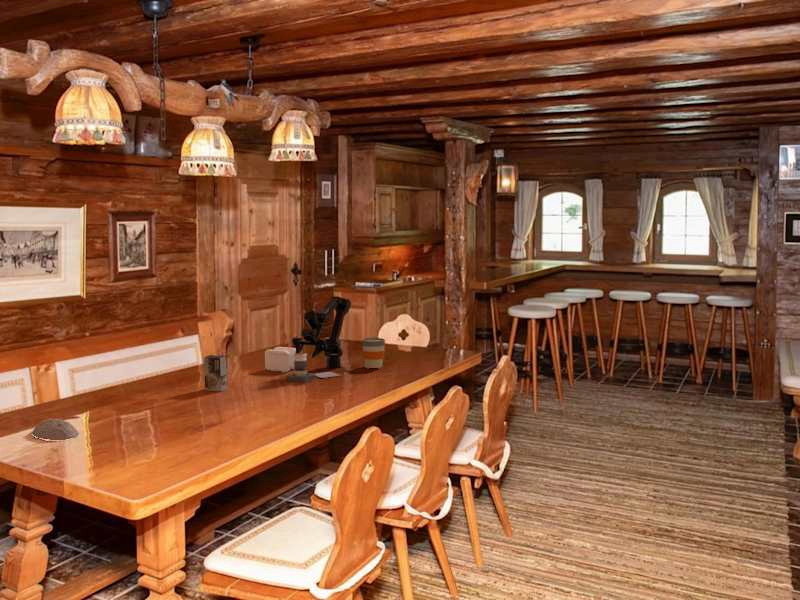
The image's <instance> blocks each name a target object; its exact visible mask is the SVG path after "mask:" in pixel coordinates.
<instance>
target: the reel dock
mask: <svg viewBox="0 0 800 600" xmlns="http://www.w3.org/2000/svg"><path fill="white" fill-rule="evenodd" d="M315 374H316V373H312V372H311V373H310V372H307V376H305V377H299V376H295V372H293V373H292V374H287V375H286V378H285V379H286V380H289V381H288V382H293V381H298V382H297V383H304V382H305V383H307V382H309V380H310V381H312V380H311V379H313V380H315V379H316V377H315ZM314 378H315V379H314ZM306 381H307V382H306Z"/></svg>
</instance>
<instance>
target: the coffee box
mask: <svg viewBox="0 0 800 600" xmlns="http://www.w3.org/2000/svg"><path fill="white" fill-rule="evenodd" d="M203 369H204V373H203V374H204V391H205V390H207V392H210V391H211V392H224V391H226V390H228V389H229V383H228V381H229V380H228V378H229V376H228V356H227V355H220V354H209V355H207V356H204V357H203Z"/></svg>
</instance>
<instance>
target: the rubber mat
mask: <svg viewBox="0 0 800 600" xmlns="http://www.w3.org/2000/svg"><path fill="white" fill-rule="evenodd" d="M314 374H315V376H316V377H315V378H318V377H319V378H318V379H320V378H324V379H329V378H328V377H332V378H336V377H335V376H339V377H341V374H338V373H336V372H332V371H324V372H316V373H314Z"/></svg>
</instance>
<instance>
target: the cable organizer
mask: <svg viewBox="0 0 800 600" xmlns="http://www.w3.org/2000/svg"><path fill="white" fill-rule="evenodd" d="M295 353H296V347H295V348H294V347H286V346H276V347H274V348H273V349H271V348H270V349H266V350H265V351H264V368H265V370H267V371H269V370H271V371H270V372H279V371H281V372H280V373H287V372H289V371H290V370H291V369H293V370H294V354H295Z"/></svg>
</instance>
